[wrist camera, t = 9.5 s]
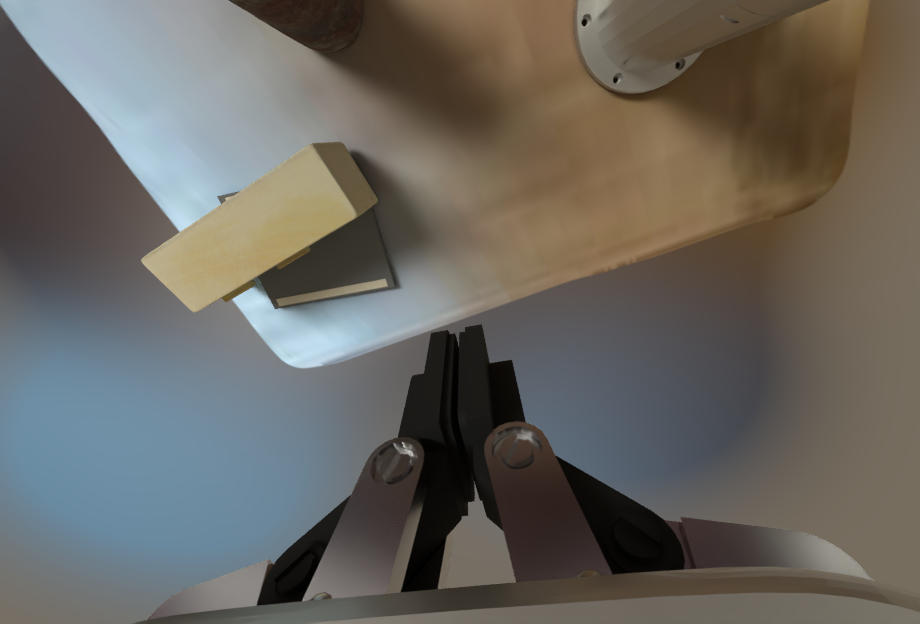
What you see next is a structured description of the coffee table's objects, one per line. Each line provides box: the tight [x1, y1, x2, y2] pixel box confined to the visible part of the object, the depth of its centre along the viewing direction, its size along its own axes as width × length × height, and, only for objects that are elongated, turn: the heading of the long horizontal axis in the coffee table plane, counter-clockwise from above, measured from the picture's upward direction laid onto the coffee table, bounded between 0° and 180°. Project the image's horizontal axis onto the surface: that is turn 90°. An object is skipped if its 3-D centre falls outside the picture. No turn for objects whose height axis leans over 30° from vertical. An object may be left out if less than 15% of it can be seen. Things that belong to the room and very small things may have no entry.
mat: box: [217, 165, 396, 309], centre depth 38 cm, size 16×14×1 cm
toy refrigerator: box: [141, 142, 378, 312], centre depth 33 cm, size 8×7×21 cm
